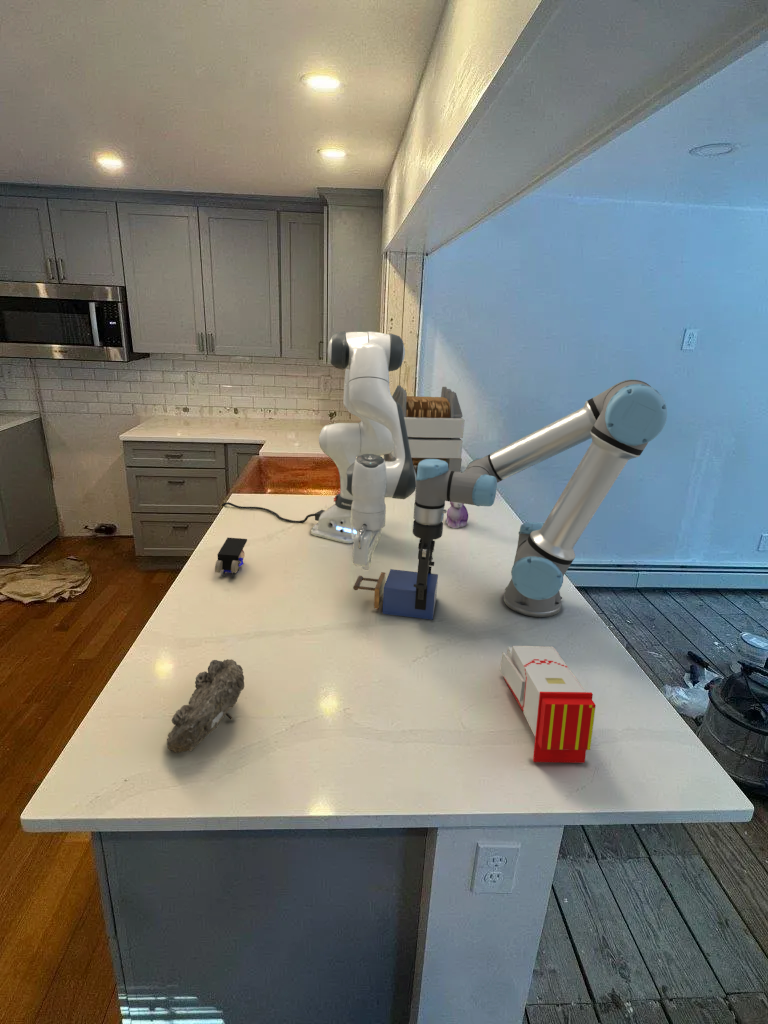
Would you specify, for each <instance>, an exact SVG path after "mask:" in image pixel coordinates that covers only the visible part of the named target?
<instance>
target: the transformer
mask: <svg viewBox="0 0 768 1024" xmlns="http://www.w3.org/2000/svg"><path fill="white" fill-rule="evenodd" d="M440 393H441V394H440V396H415V395H414V396H413V395H412V396H411V395H407V394H408V393H407V390H406V389H404V388H403V387H402V385H399V384H398V385H397V386H396V388H395V390H394V392H393V394H392V395H391V396H392V398H393V399H394V401H395V402H397V403H399V404H400V406H401V408H402V411H403V415H404V420H405V425H406V430H407V435H408V441H409V447H410V453H411V458H412V462H413V467H415V466H416V467H418V464H419V462H420V461H422V460H425V459H439V460H443V461H445V462H447V463H448V468H449V470H451V471H455V472H462V461H463V460H462V453H463V442H464V441H463V440H462V439H463V438H464V431H465V430H464V429H465V419H464V418H463V411H462V408H461V405H460V402H459V398H458V395H457V392H455V391H453V390H452V389H451V388H447V386H442V387H441V392H440ZM383 459H384V460H385V461H387V462H393V461H395V460H396V456H395V451H394V450H393V451H392V452H391V453H390V454H386V455H383Z"/></svg>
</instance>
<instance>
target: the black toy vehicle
mask: <svg viewBox="0 0 768 1024" xmlns="http://www.w3.org/2000/svg"><path fill="white" fill-rule="evenodd" d="M247 542H248V538H240V537H226V539H225V541H224V543H223V544H222V546H221V547H220V549H219V551H218V552H217V560H216V562H215V564H214V572H215V573H221V577H222V578H224V577H225V576H226V574H227V573H230V574H231V573H232V574H231V578H234V577H235V575H236V573H237V572H239V571H240V567H242V566H243V565H244V564H245V562H244V558H245V551H244V547H245V546H246V544H247Z"/></svg>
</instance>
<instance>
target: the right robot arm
mask: <svg viewBox="0 0 768 1024" xmlns="http://www.w3.org/2000/svg"><path fill="white" fill-rule="evenodd" d="M667 419H668V407H667V403H666V401H665V399H664V397H663V396H662V394H661V392H659V391H658V390H657V389H655V388H654V387H652V386H651V385H650V384H649V383H647V382H645V381H643V380H639V379H626V380H623V381H620V382H618V383H616V384H614V385H612V386H610V387H609V388H608V389H605V390H604V391H602V392H600V393H599V394H597V395H595V396H594V397H592V398H589V399H588V400H586V401H585V402H584V405H583V407H581V408H579V409H577V410H575V411H573V412H571V413H569V414H567V415H565V416H563V417H561V418H559V419H557V420H555V421H553V422H551V423H549V424H546V425H545V426H543V427H541V428H539V429H537V430H535V431H533V432H531V433H529V434H527V435H525V436H523V437H521V438H519V439H517V440H514V441H513V442H510V443H508V444H507V445H505V446H503V447H501V448H499V449H497V450H496V451H493V452H491V453H490V454H486V455H485V456H483V457H477V458H475V459H473V460H472V461H470V462H469V463H468V464H467V466H466V468H465V470H464V471H461V472H455V471H451V470H449V468H448V463H447V462H445V461H443V460H439V459H425V460H422V461H420V462H419V464H418V466H417V470H416V471H417V472H416V489H415V492H414V493H415V494H414V495H415V496H414V499H415V500H414V505H413V523H412V535H413V536H414V537H415V538H417V539H419V542H418V544H417V545H418V547H417V549H418V553H417V560H418V563H417V571H416V572H417V582H416V584H414V587H416V599H415V609H420V610H425V609H426V598H427V578H428V573H430V574H432V567H434V566H435V561H433V559H434V558H433V553H434V551H435V544H436V540H439V539H440V538H442V537H443V531H444V530H443V529H444V522H443V521H444V516H445V514H447V509H445V505H446V502H449V503H450V502H457V503H463V504H464V505H472V506H475V507H492V506H493V505H494V503H495V500H496V495H497V487H498V483H499V482H501V481H504V480H505V479H507V478H508V479H509V478H510V477H512V476H514V475H517V474H519V473H520V472H523V471H525V470H526V469H530V468H531V467H533V466H536V465H538V464H540V463H542V462H543V461H547V460H548V459H551V458H552V457H554V456H557V455H559V454H561V453H563V452H566V451H568V450H569V449H572V448H574V447H575V446H578V445H581V444H582V443H584V442H586V441H589V440H591V443H590V444H589V446H588V448H587V449H586V451H585V453H584V455H583V457H582V458H581V459H580V462H579V464H578V465H577V467H575V470H574V472H573V473H572V475H571V477H570V478H569V480H568V482H567V484H566V485H565V487H564V488H563V490H562V492H561V494H560V496H559V497H558V499H557V500H556V502H555V504H554V505H553V507H552V508H551V510H550V512H549V514H548V515H547V517H546V519H545V520H544V522H541V521H539V522H538V521H528V522H523V523H522V524H521V525H520V527H519V531H518V538H517V539H518V540H517V547H516V550H515V551H516V552H515V555H514V560H513V561H514V562H513V565H512V567H511V570H510V571H511V579H510V581H509V583H508V584H507V586H506V587H505V588H504V590H503V592H504V593H503V602H504V604H505V605H506V606H507V607H508V608H509V609H510V610H511V611H513V612H515V613H517V614H520V615H524V616H527V617H533V618H549V617H553V616H555V615H557V614H558V613H560V612H561V608H562V600H563V597H562V596H561V592H560V590H561V588H562V586H563V584H564V576H565V575H566V572H568V569H569V568H570V567H571V566H572V563H573V562H574V560H575V558H576V553H575V550H574V547H575V546H576V544H577V543H578V541H579V539H580V538H581V536H582V535H583V533H584V531H585V530H586V528H587V527H588V525H589V523H590V522H591V520H592V519H593V517H594V515H595V514H596V513H597V511H598V509H599V508H600V506H601V505H602V503H603V501H604V500H605V498H606V497H607V495H608V494H609V492H610V490H611V488H612V487H613V485H614V484H615V482H616V481H617V479H618V477H619V476H620V474H621V472H622V471H623V469H624V468H625V466H626V465H627V463H628V462H629V461H630V460H633V459H636V458H639V457H640V456H641V455H642V453H643V452H644V451H645V449H646V447H647V445H648V444H649V443H650V442H651V441H653V440H654V439H656V438H657V437H658V436H659V434H660V433H661V432H662V431H663V430H664V428H665V426H666V423H667Z"/></svg>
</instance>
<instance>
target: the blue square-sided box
mask: <svg viewBox="0 0 768 1024" xmlns="http://www.w3.org/2000/svg"><path fill="white" fill-rule="evenodd" d="M417 572H418V571H410V570H404V569H403V570H401V569H393V568H390V570H389V572H388V575H387V578H386V579H385V585H384V593H383V598H382V615H388V616H389V615H391V616H399V617H406V618H413V619H414V618H416V619H422V620H423V619H424V620H430V621H432V620H433V619H434V613H435V609H436V604H437V603H436V602H437V595H438V594H437V593H438V584H439V583H438V580H439V574H437V573H431V574H430V573H428V578H427V598H426V609H425V610H420V609H415V599H416V587H414V584H416V582H417Z"/></svg>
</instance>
